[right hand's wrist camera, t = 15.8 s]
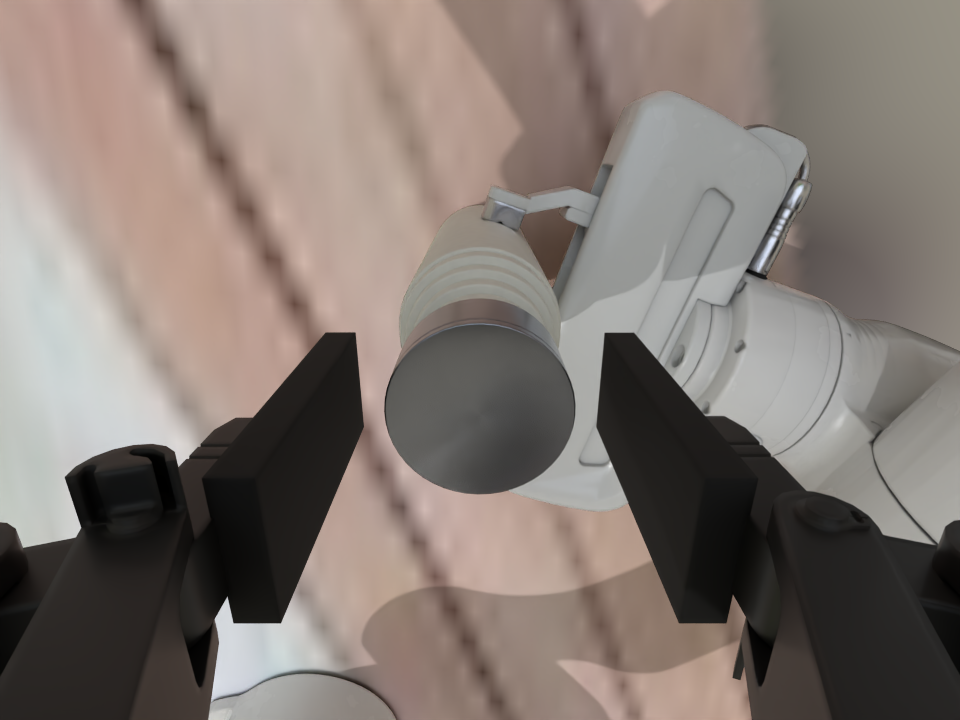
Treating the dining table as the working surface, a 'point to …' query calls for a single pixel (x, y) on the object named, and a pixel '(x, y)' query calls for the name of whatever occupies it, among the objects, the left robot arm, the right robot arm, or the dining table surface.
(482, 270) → the bottle
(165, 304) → the dining table surface
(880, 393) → the left robot arm
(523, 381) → the cap
